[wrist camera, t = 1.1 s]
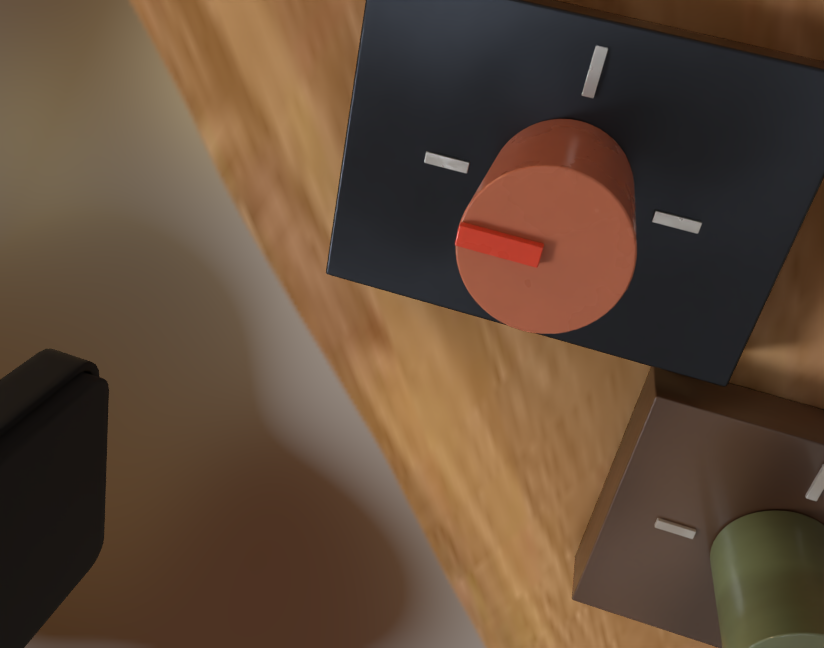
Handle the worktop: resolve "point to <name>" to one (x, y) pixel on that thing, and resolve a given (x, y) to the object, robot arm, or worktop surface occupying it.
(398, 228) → the black dial base plate
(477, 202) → the dial knob
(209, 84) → the worktop surface
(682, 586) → the brown dial base plate
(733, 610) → the green rotary knob near
